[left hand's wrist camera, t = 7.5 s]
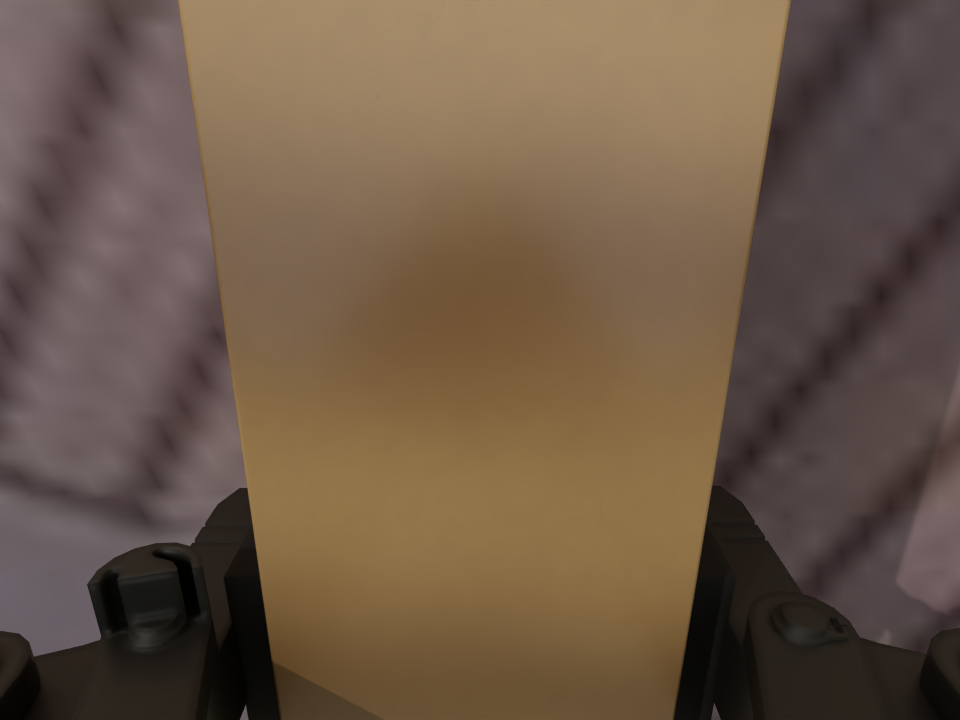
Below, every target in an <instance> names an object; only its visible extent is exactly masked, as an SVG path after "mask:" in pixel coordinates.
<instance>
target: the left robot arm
mask: <svg viewBox="0 0 960 720" xmlns="http://www.w3.org/2000/svg"><path fill="white" fill-rule="evenodd" d="M87 586H88V589H89V593H90V596H91V600H92V604H93V607H94V611H95V615H96V618H97V622H98V626H99V629H100V633H101V639H100V640H99V641H95V642H92V643H89V644H86V645H82V646H78V647H74V648H70V649H65V650H61V651H57V652H52V653H48V654H44V655H40V656H35V657H34V656H33V653H32V650H31V647H30V644H29V642H28V641H27V640H26V639H25V638H24V637H22V636H21V635H20V634H17V633H11V632H4V631H0V720H240V718H241V715H242V713H243V710H244V707H245V705H246V708H247V713H248V719H249V720H280V714H279V707H278V700H277V693H276V686H275V679H274V672H273V665H272V658H271V651H270V643H269V636H268V629H267V622H266V615H265V608H264V601H263V594H262V587H261V580H260V573H259V566H258V559H257V552H256V545H255V538H254V531H253V523H252V516H251V509H250V502H249V495H248V488H239V489H238V490H237V491H235V492H234V493H233V494H231V495H230V496H228V497H227V498H226V499H224V500H223V501H222V502H220V503H219V504H218V505H217V506H216V508H215V509H214V511H213V512H212V514H211V515H210V517H209V518H208V520H207V522H206V523H205V527H203V528H202V529H201V531H200V532H199V534H198V535H197V537H196V538H195V543H192V544H191V546H187V545H183V544H179V543H155V544H151V545H147V546H143V547H139V548H135V549H133V550H131V551H128V552H126V553H124V554H122V555H120V556H118V557H115V558H114V559H112V560H111V561H110V562H108V563H107V564H105V565H104V566H103V567H101V568H100V569H99V570H97V572H96V573H95V574H94V576H93V577H92V579H91V580H90V581H89V583H88V584H87ZM714 703H715V705H716V708H717V711H718V713H719V716H720V718H721V720H960V629H959V628H958V629H951V630H945V631H941V632H939V633H938V634H937V635H936V636H935V637H934V638H932V639H931V642H930V645H929V648H928V651H927V654H923V653H919V652H915V651H910V650H906V649H902V648H897V647H893V646H889V645H885V644H880V643H876V642H873V641H870V640H867V639H863V638H860V637H859V636H858V634H857V632H856V631H855V629H854V628H853V626H852V625H851V623H850V621H849V620H847V619H846V618H845V617H844V616H843V615H842V614H840V613H839V612H838V611H837V610H836V609H834V608H833V607H831V606H829V605H827V604H825V603H823V602H821V601H820V600H818V599H816V598H814V597H810V596H806V595H803V593H802V592H801V590H800V589H799V587H798V586H797V584H796V583H795V581H794V580H793V578H792V577H791V575H790V574H789V572H788V571H787V569H786V568H785V566H784V565H783V563H782V562H781V560H780V559H779V557H778V556H777V554H776V553H775V551H774V550H773V548H772V547H771V545H770V544H769V542H768V541H765V536H764V535H763V533H762V532H761V530H760V529H759V527H758V526H757V525H755V521H754V519H753V518H752V516H751V515H750V513H749V512H748V510H747V509H746V507H745V506H744V504H743V503H742V502H741V501H740V500H738V499H737V498H736V497H734V496H733V495H731V494H730V493H729V492H727V491H726V490H725V489H723V488H722V487H721V486H712V489H711V495H710V501H709V507H708V514H707V520H706V526H705V532H704V538H703V544H702V551H701V557H700V563H699V569H698V575H697V581H696V587H695V594H694V600H693V606H692V612H691V618H690V624H689V630H688V637H687V643H686V649H685V655H684V661H683V667H682V673H681V680H680V686H679V692H678V698H677V704H676V710H675V716H674V720H711V716H712V711H713V705H714Z"/></svg>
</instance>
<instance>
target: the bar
mask: <svg viewBox="0 0 960 720" xmlns="http://www.w3.org/2000/svg"><path fill="white" fill-rule="evenodd" d="M178 1H179V8H180V15H181V22H182V29H183V37H184V44H185V51H186V58H187V65H188V72H189V79H190V86H191V93H192V100H193V107H194V114H195V121H196V128H197V135H198V142H199V149H200V156H201V164H202V171H203V178H204V185H205V192H206V199H207V206H208V213H209V220H210V227H211V234H212V241H213V248H214V255H215V262H216V269H217V276H218V284H219V291H220V298H221V305H222V312H223V319H224V326H225V333H226V340H227V347H228V354H229V361H230V368H231V375H232V382H233V389H234V396H235V404H236V411H237V418H238V425H239V432H240V439H241V446H242V453H243V460H244V467H245V474H246V481H247V488H248V495H249V502H250V509H251V516H252V523H253V531H254V538H255V545H256V552H257V559H258V566H259V573H260V580H261V587H262V594H263V601H264V608H265V615H266V622H267V629H268V636H269V643H270V651H271V658H272V665H273V672H274V679H275V686H276V693H277V700H278V707H279V714H280V720H674V716H675V710H676V704H677V698H678V692H679V686H680V680H681V673H682V667H683V661H684V655H685V649H686V643H687V637H688V630H689V624H690V618H691V612H692V606H693V600H694V594H695V587H696V581H697V575H698V569H699V563H700V557H701V551H702V544H703V538H704V532H705V526H706V520H707V514H708V507H709V501H710V495H711V489H712V483H713V477H714V471H715V464H716V458H717V452H718V446H719V440H720V434H721V428H722V421H723V415H724V409H725V403H726V397H727V391H728V385H729V378H730V372H731V366H732V360H733V354H734V348H735V341H736V335H737V329H738V323H739V317H740V311H741V305H742V298H743V292H744V286H745V280H746V274H747V268H748V262H749V255H750V249H751V243H752V237H753V231H754V225H755V219H756V212H757V206H758V200H759V194H760V188H761V182H762V175H763V169H764V163H765V157H766V151H767V145H768V139H769V132H770V126H771V120H772V114H773V108H774V102H775V96H776V89H777V83H778V77H779V71H780V65H781V59H782V53H783V46H784V40H785V34H786V28H787V22H788V16H789V10H790V3H791V0H178Z"/></svg>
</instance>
